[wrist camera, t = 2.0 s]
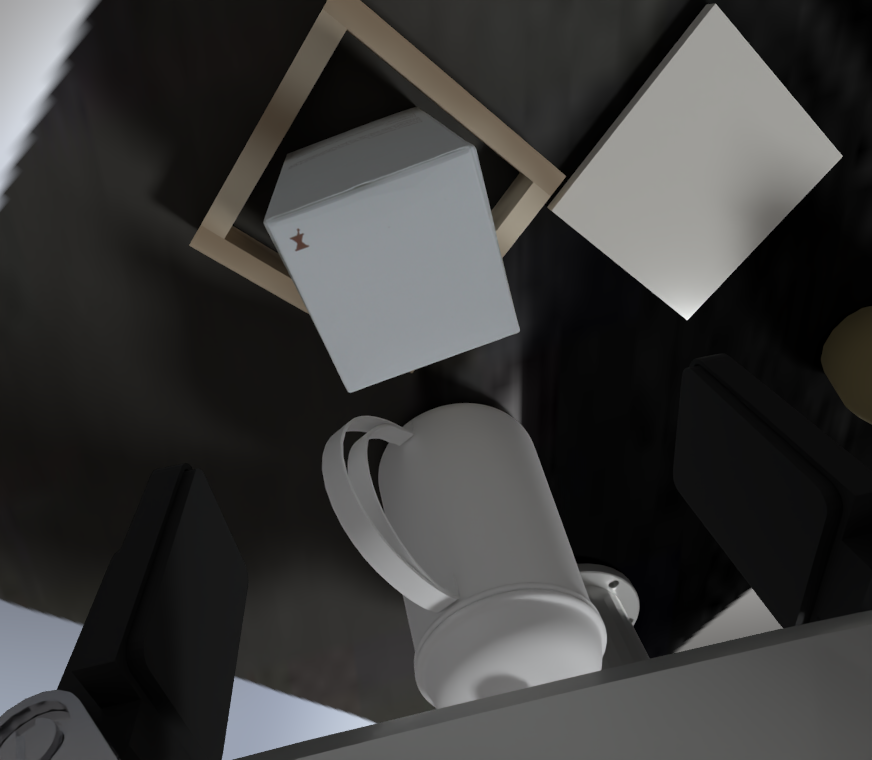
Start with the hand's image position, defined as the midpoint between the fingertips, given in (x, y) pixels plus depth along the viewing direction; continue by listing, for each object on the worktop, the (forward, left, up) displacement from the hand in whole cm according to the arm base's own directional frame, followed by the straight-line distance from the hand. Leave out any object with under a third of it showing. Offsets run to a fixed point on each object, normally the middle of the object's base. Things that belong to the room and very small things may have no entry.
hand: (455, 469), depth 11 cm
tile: (+11, -14, -23) cm, 29 cm away
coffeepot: (-12, -15, -23) cm, 30 cm away
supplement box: (0, 0, -23) cm, 23 cm away
